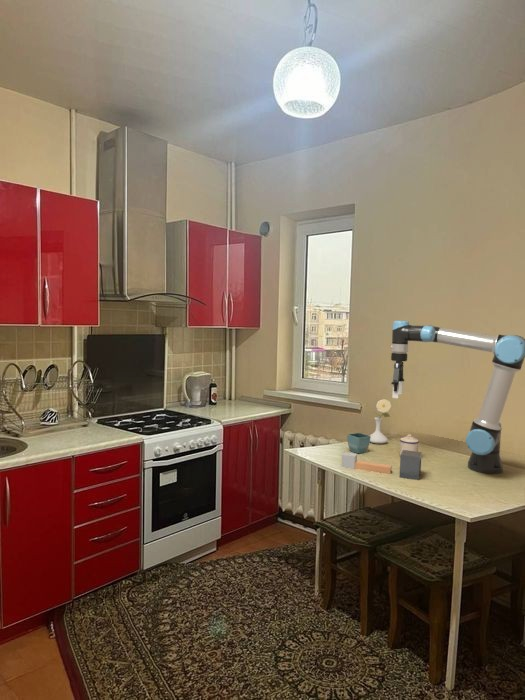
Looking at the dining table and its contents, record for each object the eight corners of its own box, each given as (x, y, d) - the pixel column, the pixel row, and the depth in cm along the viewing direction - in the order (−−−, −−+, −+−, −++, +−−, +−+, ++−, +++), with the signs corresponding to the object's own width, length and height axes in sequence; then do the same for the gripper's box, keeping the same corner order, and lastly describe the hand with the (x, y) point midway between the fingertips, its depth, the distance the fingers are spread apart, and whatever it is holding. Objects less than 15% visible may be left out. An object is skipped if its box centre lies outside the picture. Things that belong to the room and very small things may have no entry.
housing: (420, 474, 226) (421, 452, 225) (418, 480, 217) (419, 457, 217) (402, 471, 229) (403, 449, 228) (399, 477, 220) (400, 454, 220)
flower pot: (370, 453, 259) (371, 436, 258) (358, 455, 254) (359, 437, 253) (358, 449, 266) (358, 432, 266) (345, 451, 261) (346, 434, 261)
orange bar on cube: (391, 471, 229) (392, 458, 228) (390, 474, 224) (390, 461, 224) (343, 464, 237) (344, 452, 237) (341, 467, 232) (341, 454, 232)
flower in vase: (363, 442, 281) (365, 398, 280) (372, 439, 290) (374, 396, 288) (384, 446, 273) (386, 401, 271) (394, 443, 281) (396, 398, 280)
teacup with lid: (421, 459, 250) (422, 436, 249) (404, 460, 248) (406, 437, 247) (409, 453, 261) (410, 431, 261) (393, 453, 259) (394, 431, 259)
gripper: (395, 350, 257) (393, 392, 258) (387, 353, 234) (385, 398, 235) (410, 351, 254) (408, 393, 255) (404, 354, 231) (401, 400, 232)
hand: (397, 396), depth 245 cm, fingers open, 13 cm apart
